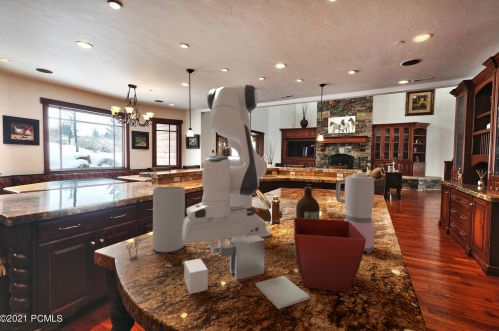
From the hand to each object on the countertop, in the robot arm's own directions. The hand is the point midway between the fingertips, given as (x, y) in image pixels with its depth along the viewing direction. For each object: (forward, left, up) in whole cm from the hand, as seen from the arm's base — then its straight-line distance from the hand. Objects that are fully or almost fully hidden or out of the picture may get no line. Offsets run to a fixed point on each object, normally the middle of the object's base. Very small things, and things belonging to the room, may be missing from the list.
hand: (216, 252), depth 72 cm
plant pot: (-31, +14, -9) cm, 35 cm away
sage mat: (-15, +14, -8) cm, 22 cm away
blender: (-63, -1, -9) cm, 63 cm away
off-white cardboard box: (+6, 0, -9) cm, 11 cm away
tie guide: (-11, 0, -8) cm, 14 cm away
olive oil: (-50, -16, -9) cm, 53 cm away
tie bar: (-7, 0, -1) cm, 7 cm away
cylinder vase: (+9, -34, -9) cm, 36 cm away
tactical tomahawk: (-34, -7, -9) cm, 36 cm away
